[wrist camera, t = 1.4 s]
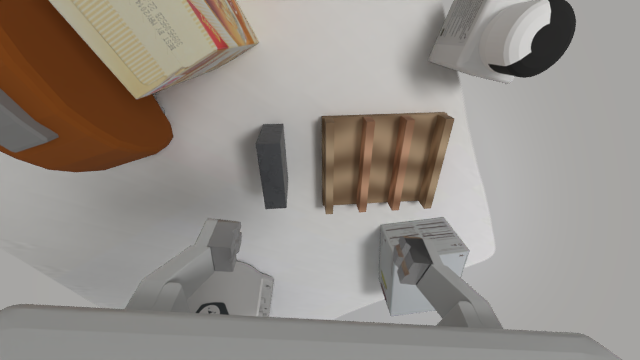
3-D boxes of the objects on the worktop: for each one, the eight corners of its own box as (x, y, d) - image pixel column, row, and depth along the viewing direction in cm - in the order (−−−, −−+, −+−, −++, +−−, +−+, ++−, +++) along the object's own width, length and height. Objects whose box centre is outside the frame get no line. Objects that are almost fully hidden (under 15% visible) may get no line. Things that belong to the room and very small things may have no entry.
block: (288, 180, 43) (286, 207, 36) (270, 181, 43) (265, 209, 36) (283, 123, 38) (280, 143, 31) (263, 124, 38) (255, 144, 31)
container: (504, 15, 33) (610, 5, 22) (472, 75, 37) (549, 94, 25) (454, -5, 32) (541, -27, 20) (426, 60, 35) (486, 73, 24)
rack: (423, 197, 47) (432, 208, 44) (322, 202, 46) (324, 214, 43) (444, 112, 39) (456, 118, 36) (321, 116, 38) (323, 123, 35)
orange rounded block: (-14, -41, 27) (-379, -130, 12) (59, -72, 26) (-236, -203, 12) (130, 151, 38) (30, 220, 24) (183, 134, 38) (113, 195, 23)
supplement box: (378, 223, 50) (394, 260, 42) (443, 215, 50) (471, 250, 42) (377, 279, 59) (390, 318, 50) (432, 272, 59) (454, 309, 51)
